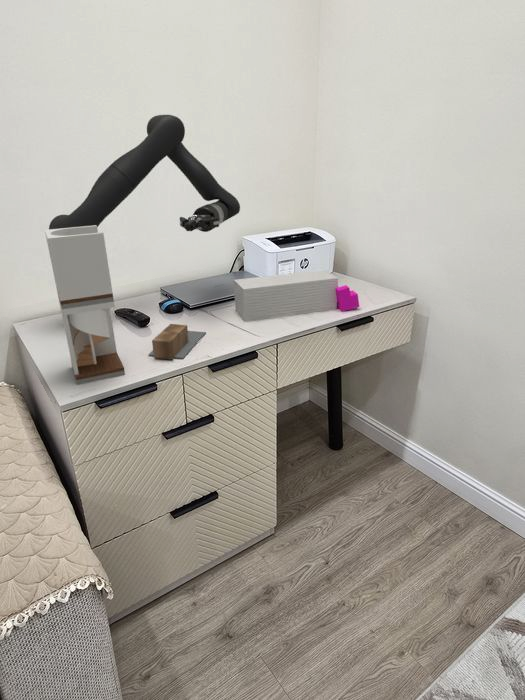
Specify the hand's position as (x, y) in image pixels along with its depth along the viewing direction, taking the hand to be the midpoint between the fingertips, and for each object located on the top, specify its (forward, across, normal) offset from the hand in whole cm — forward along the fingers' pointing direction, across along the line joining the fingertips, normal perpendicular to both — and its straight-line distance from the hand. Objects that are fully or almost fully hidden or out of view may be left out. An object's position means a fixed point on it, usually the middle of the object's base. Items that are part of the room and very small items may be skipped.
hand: (188, 227), depth 137 cm
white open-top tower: (+34, -14, +30) cm, 47 cm away
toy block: (-29, +42, +30) cm, 59 cm away
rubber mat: (+14, 0, +30) cm, 33 cm away
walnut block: (+12, 0, +27) cm, 30 cm away
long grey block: (-19, +24, +30) cm, 43 cm away
